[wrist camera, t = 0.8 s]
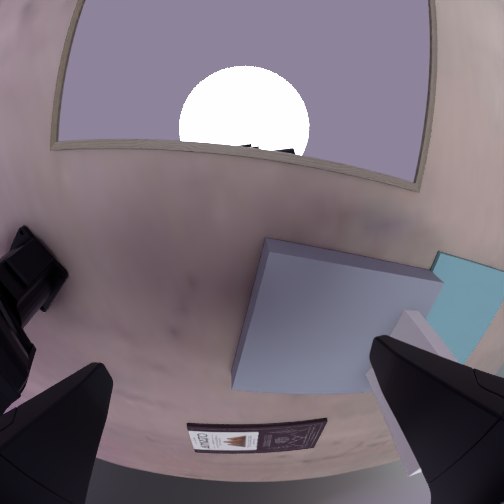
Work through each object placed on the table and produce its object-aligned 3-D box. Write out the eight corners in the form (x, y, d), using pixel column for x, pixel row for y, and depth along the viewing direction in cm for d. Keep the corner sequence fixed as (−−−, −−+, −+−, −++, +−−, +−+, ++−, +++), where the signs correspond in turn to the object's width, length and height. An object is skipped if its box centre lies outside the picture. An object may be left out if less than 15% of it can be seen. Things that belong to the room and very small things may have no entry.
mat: (363, 387, 28) (364, 389, 28) (438, 251, 21) (440, 253, 21) (452, 376, 31) (453, 377, 30) (513, 274, 23) (514, 275, 23)
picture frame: (428, -3, 11) (106, -49, 8) (434, -6, 10) (102, -54, 7) (412, 189, 19) (57, 148, 16) (419, 192, 18) (49, 150, 15)
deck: (231, 371, 25) (231, 389, 23) (265, 237, 20) (269, 251, 17) (370, 376, 27) (377, 391, 25) (430, 270, 22) (444, 282, 20)
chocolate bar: (313, 447, 34) (195, 452, 33) (312, 442, 35) (195, 447, 33) (327, 420, 30) (186, 426, 29) (325, 415, 31) (187, 420, 30)
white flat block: (365, 374, 23) (407, 476, 13) (404, 309, 20) (479, 417, 9) (379, 373, 24) (423, 470, 13) (418, 310, 21) (492, 411, 10)
